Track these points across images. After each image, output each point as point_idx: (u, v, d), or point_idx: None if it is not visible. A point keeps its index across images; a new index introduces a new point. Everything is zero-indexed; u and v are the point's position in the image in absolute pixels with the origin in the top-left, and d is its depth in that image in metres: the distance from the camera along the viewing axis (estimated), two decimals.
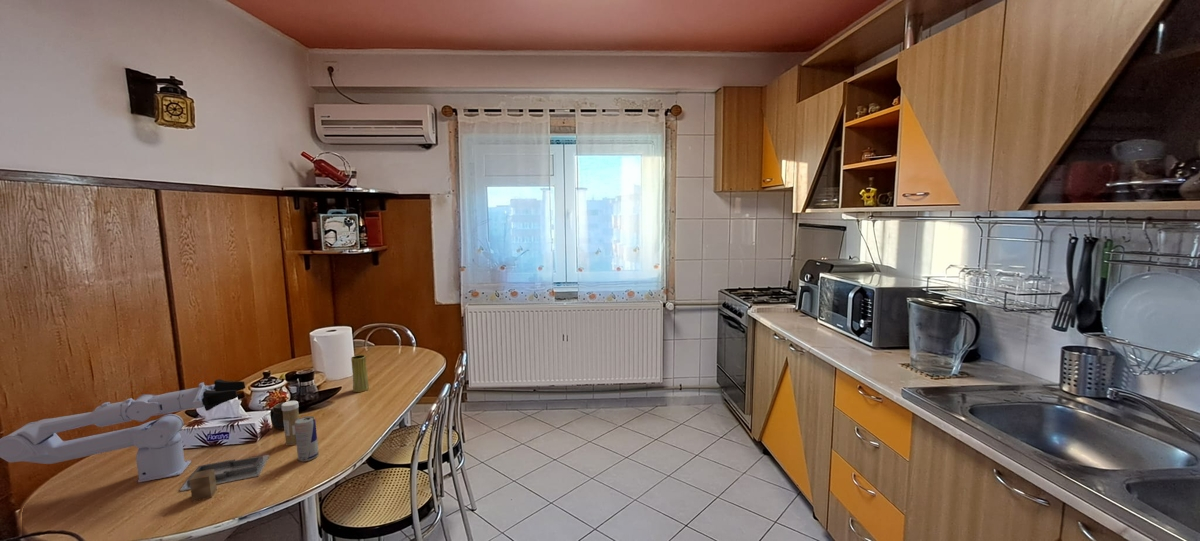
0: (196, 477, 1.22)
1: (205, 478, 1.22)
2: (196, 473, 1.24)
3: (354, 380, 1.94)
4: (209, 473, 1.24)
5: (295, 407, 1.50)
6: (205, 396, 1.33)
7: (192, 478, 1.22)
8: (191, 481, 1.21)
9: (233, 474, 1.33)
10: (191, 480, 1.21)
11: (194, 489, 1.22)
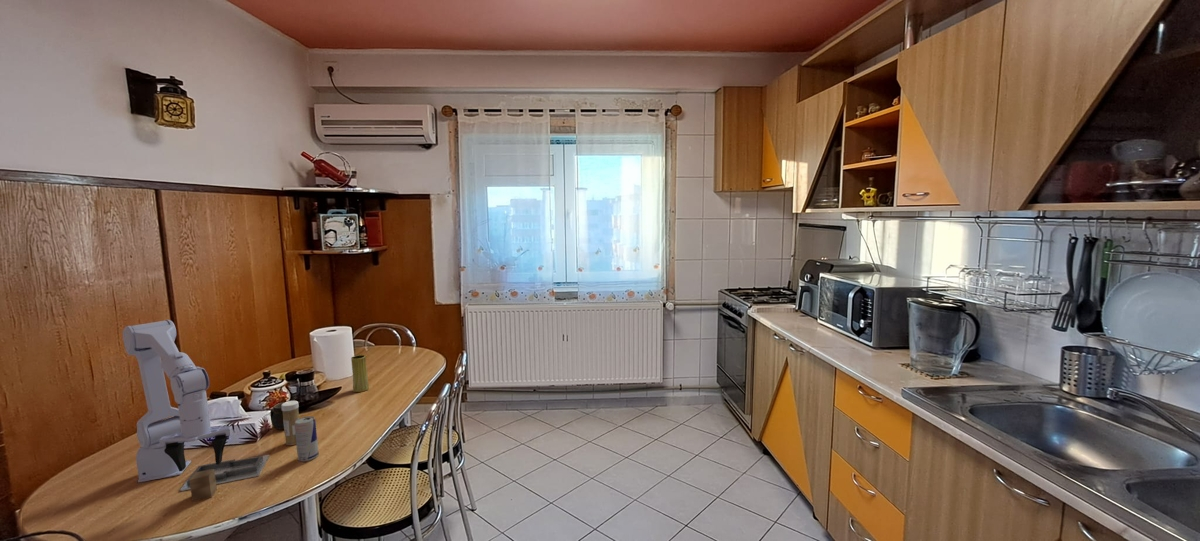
0: (196, 477, 1.22)
1: (205, 478, 1.22)
2: (196, 473, 1.24)
3: (354, 380, 1.94)
4: (209, 473, 1.24)
5: (295, 407, 1.50)
6: None
7: (192, 478, 1.22)
8: (191, 481, 1.21)
9: (233, 474, 1.33)
10: (191, 480, 1.21)
11: (194, 489, 1.22)
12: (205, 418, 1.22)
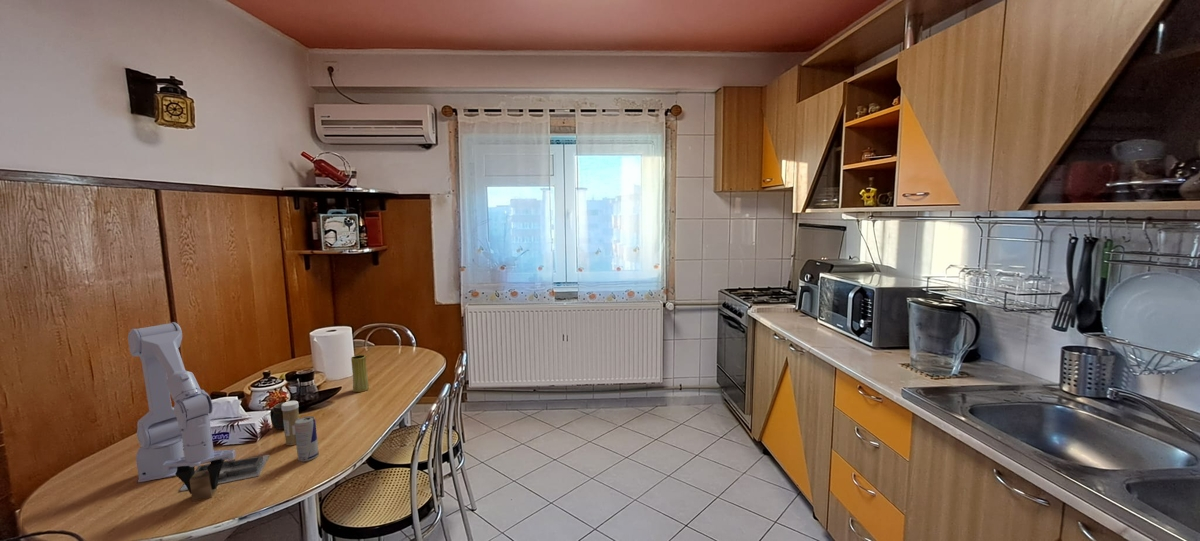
0: (196, 477, 1.22)
1: (205, 478, 1.22)
2: (196, 473, 1.24)
3: (354, 380, 1.94)
4: None
5: (295, 407, 1.50)
6: None
7: (192, 477, 1.22)
8: (191, 481, 1.21)
9: (233, 474, 1.33)
10: (191, 480, 1.21)
11: (194, 488, 1.22)
12: (208, 442, 1.22)
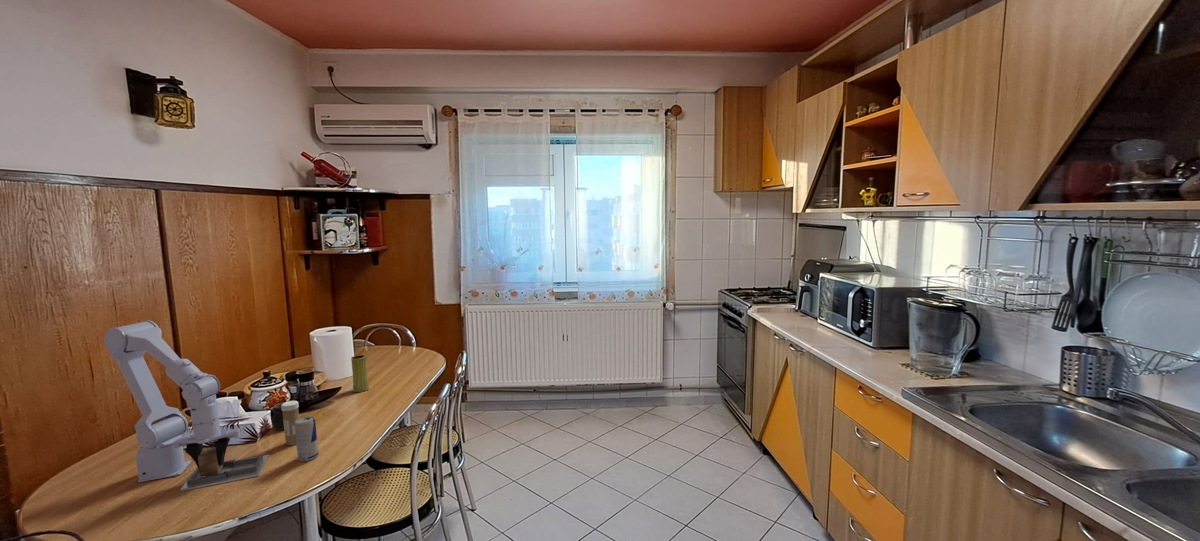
0: (204, 454, 1.31)
1: (212, 455, 1.31)
2: (204, 451, 1.33)
3: (354, 380, 1.94)
4: (216, 451, 1.33)
5: (295, 407, 1.50)
6: None
7: (200, 455, 1.31)
8: (199, 458, 1.30)
9: (233, 474, 1.33)
10: (199, 457, 1.30)
11: (202, 465, 1.31)
12: (215, 421, 1.32)
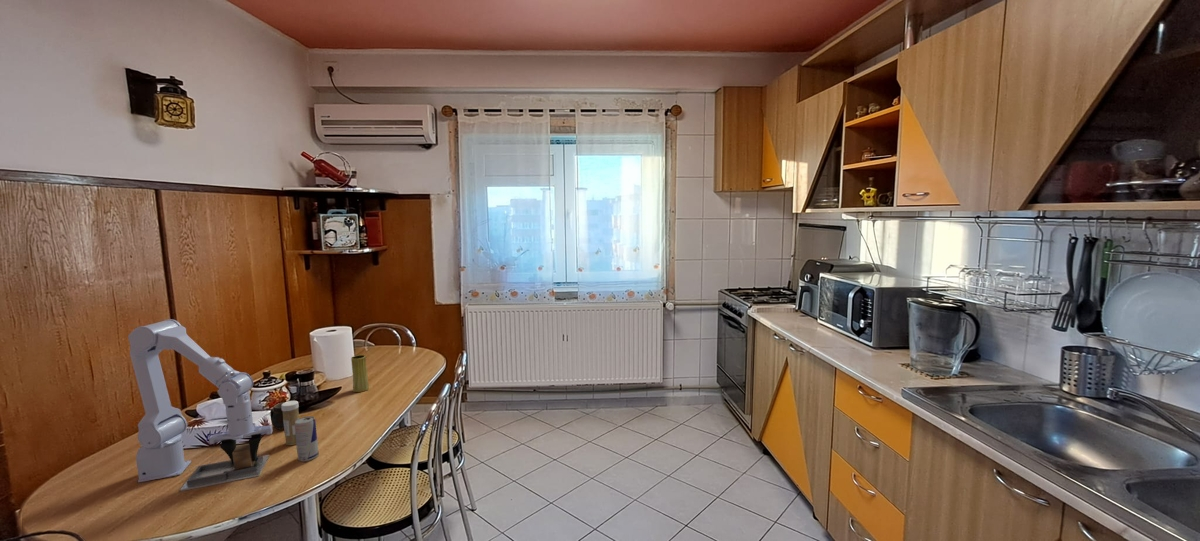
0: (238, 450, 1.34)
1: (246, 451, 1.35)
2: (237, 447, 1.36)
3: (354, 380, 1.94)
4: (249, 447, 1.36)
5: (295, 407, 1.50)
6: None
7: (234, 451, 1.34)
8: (234, 453, 1.33)
9: (233, 474, 1.33)
10: (233, 453, 1.33)
11: (236, 460, 1.34)
12: (249, 418, 1.35)
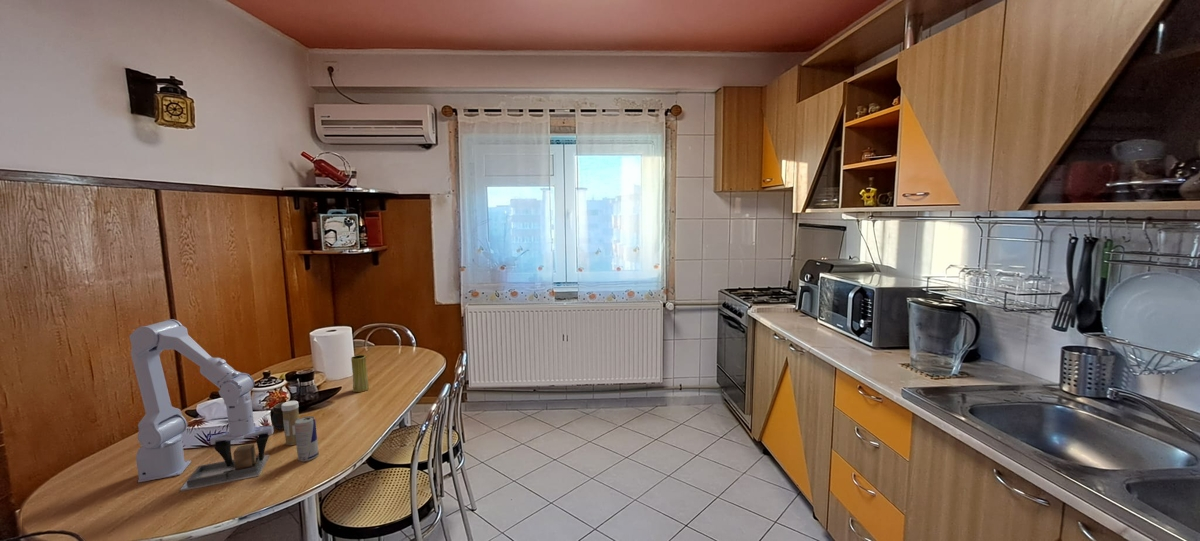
0: (239, 451, 1.34)
1: (247, 452, 1.35)
2: (238, 447, 1.36)
3: (354, 380, 1.94)
4: (250, 447, 1.36)
5: (295, 407, 1.50)
6: None
7: (235, 451, 1.34)
8: (235, 454, 1.34)
9: (233, 474, 1.33)
10: (234, 453, 1.34)
11: (237, 461, 1.34)
12: (250, 419, 1.35)
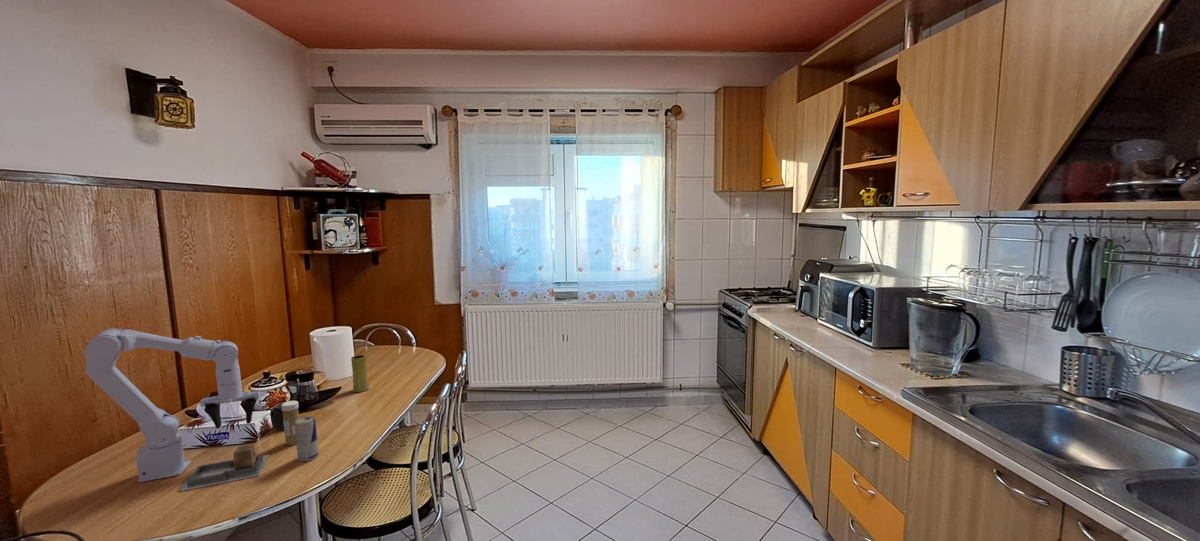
0: (239, 451, 1.34)
1: (247, 452, 1.35)
2: (238, 447, 1.36)
3: (354, 380, 1.94)
4: (250, 447, 1.36)
5: (295, 407, 1.50)
6: None
7: (235, 451, 1.34)
8: (235, 454, 1.34)
9: (233, 474, 1.33)
10: (234, 453, 1.34)
11: (237, 461, 1.34)
12: (238, 383, 1.43)
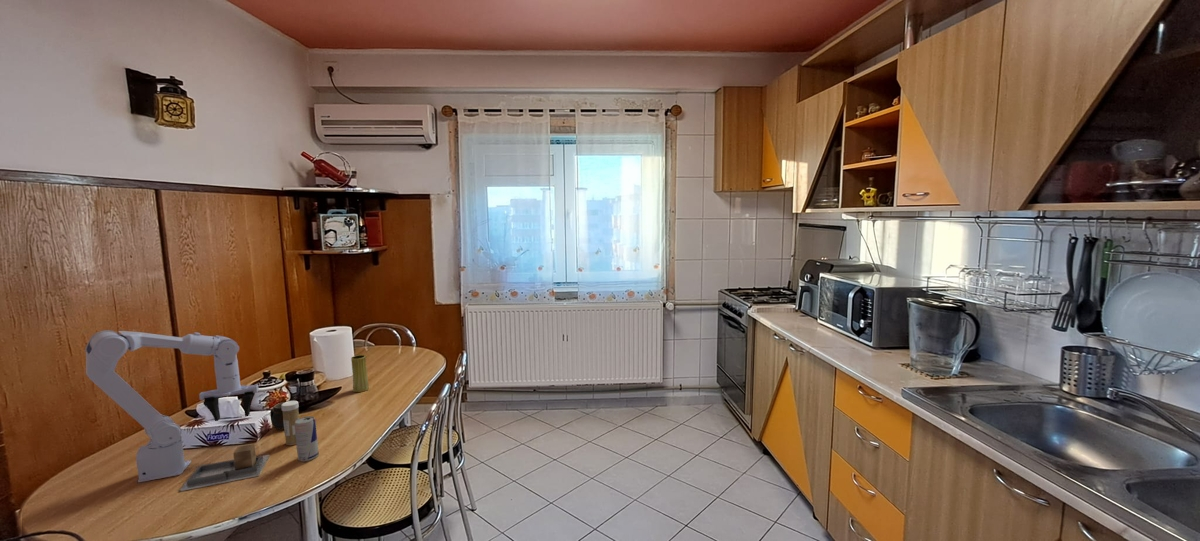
0: (239, 451, 1.34)
1: (247, 452, 1.35)
2: (238, 447, 1.36)
3: (354, 380, 1.94)
4: (250, 447, 1.36)
5: (295, 407, 1.50)
6: None
7: (235, 451, 1.34)
8: (235, 454, 1.34)
9: (233, 474, 1.33)
10: (234, 453, 1.34)
11: (237, 461, 1.34)
12: (236, 377, 1.46)
